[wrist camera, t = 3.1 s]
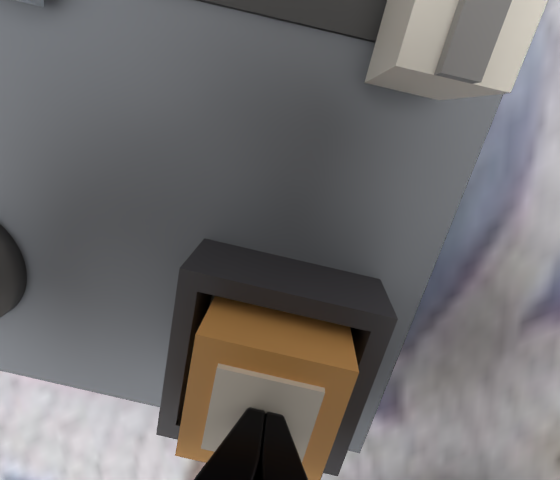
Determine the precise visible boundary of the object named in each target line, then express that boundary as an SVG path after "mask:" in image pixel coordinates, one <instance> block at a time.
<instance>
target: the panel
mask: <svg viewBox="0 0 560 480" xmlns="http://www.w3.org/2000/svg"><path fill="white" fill-rule="evenodd" d="M386 3H387V0H44V7H41V6H37V5H33V4H28V3H24V2H20V1H16V0H0V371H4V372H9V373H13V374H18V375H22V376H26V377H31V378H35V379H39V380H44V381H48V382H52V383H57V384H61V385H65V386H70V387H74V388H78V389H83V390H87V391H91V392H96V393H100V394H105V395H109V396H113V397H118V398H122V399H126V400H131V401H135V402H139V403H144V404H148V405H152V406H157V407H160V412H159V419H158V427H157V434H156V435H161V436H165V437H169V438H174V439H178V436H179V430H180V424H181V418H182V412H183V406H184V400H185V394H186V388H187V382H188V376H189V370H190V364H191V358H192V352H193V346H194V340H195V334H196V332H197V330H198V328H199V326H200V324H201V322H202V320H203V318H204V316H205V315H206V313H207V311H208V309H209V307H210V305H211V303H212V301H213V299H214V297H215V296H218V297H223V298H227V299H231V300H236V301H240V302H244V303H249V304H253V305H257V306H262V307H266V308H270V309H274V310H279V311H283V312H287V313H292V314H296V315H300V316H305V317H309V318H313V319H318V320H322V321H326V322H331V323H335V324H339V325H343V326H348V327H350V329H351V334H352V339H353V344H354V349H355V354H356V359H357V364H358V368H359V374H358V377H357V380H356V383H355V385H354V388H353V391H352V394H351V396H350V399H349V402H348V405H347V407H346V410H345V413H344V416H343V418H342V421H341V424H340V427H339V429H338V432H337V435H336V438H335V441H334V443H333V446H332V449H331V452H330V454H329V457H328V460H327V463H326V465H325V468H324V471H323V473H326V474H331V475H335V476H338V474H339V472H340V469H341V466H342V464H343V461H344V459H345V456H346V453H347V451H353V452H357V453H360V451H361V449H362V446H363V444H364V441H365V439H366V436H367V434H368V431H369V429H370V426H371V424H372V421H373V419H374V416H375V414H376V411H377V409H378V406H379V404H380V401H381V399H382V396H383V394H384V391H385V389H386V386H387V384H388V381H389V379H390V376H391V374H392V371H393V369H394V366H395V364H396V361H397V359H398V356H399V354H400V351H401V349H402V346H403V344H404V341H405V339H406V336H407V334H408V331H409V329H410V326H411V324H412V321H413V319H414V316H415V314H416V311H417V309H418V306H419V304H420V301H421V299H422V296H423V294H424V291H425V289H426V286H427V284H428V281H429V279H430V276H431V274H432V271H433V269H434V266H435V264H436V261H437V259H438V256H439V254H440V251H441V249H442V246H443V244H444V241H445V239H446V236H447V234H448V231H449V229H450V226H451V224H452V221H453V219H454V216H455V214H456V211H457V209H458V206H459V204H460V201H461V199H462V196H463V194H464V191H465V189H466V186H467V184H468V181H469V179H470V176H471V174H472V171H473V169H474V166H475V164H476V161H477V159H478V156H479V154H480V151H481V149H482V146H483V144H484V141H485V139H486V136H487V134H488V131H489V129H490V126H491V124H492V121H493V119H494V116H495V114H496V111H497V109H498V106H499V104H500V101H501V99H502V96H503V94H495V95H486V96H476V97H466V98H457V99H447V100H435V99H431V98H427V97H423V96H418V95H414V94H410V93H406V92H401V91H397V90H393V89H389V88H384V87H380V86H376V85H372V84H367V83H364V82H365V79H366V75H367V72H368V68H369V64H370V61H371V57H372V54H373V50H374V46H375V43H376V39H377V35H378V32H379V28H380V25H381V21H382V17H383V14H384V10H385V6H386Z"/></svg>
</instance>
